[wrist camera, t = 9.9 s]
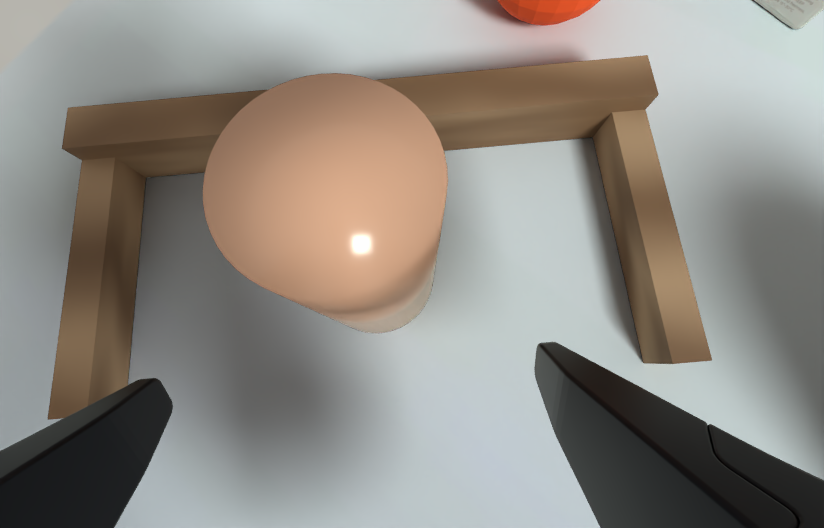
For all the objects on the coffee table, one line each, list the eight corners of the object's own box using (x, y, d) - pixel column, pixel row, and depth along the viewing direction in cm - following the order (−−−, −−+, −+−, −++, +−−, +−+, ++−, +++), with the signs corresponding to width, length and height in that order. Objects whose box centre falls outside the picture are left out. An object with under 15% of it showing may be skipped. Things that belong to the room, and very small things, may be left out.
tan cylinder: (438, 327, 17) (461, 287, 8) (323, 338, 17) (197, 310, 8) (427, 218, 18) (434, 63, 9) (319, 228, 19) (208, 84, 9)
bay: (678, 360, 17) (732, 360, 14) (91, 412, 17) (21, 423, 14) (614, 100, 20) (647, 55, 17) (119, 144, 20) (68, 107, 17)
